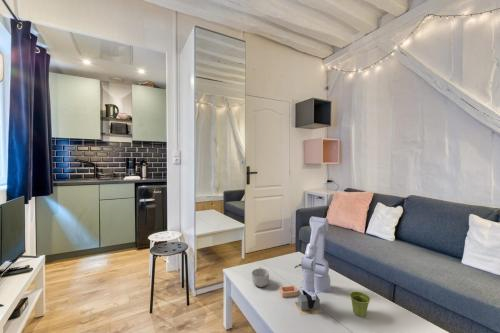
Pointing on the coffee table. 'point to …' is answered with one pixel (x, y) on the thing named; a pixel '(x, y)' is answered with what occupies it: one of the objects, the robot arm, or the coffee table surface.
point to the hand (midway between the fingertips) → (308, 304)
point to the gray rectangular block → (304, 303)
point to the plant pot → (359, 303)
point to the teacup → (260, 277)
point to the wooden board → (309, 310)
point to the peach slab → (288, 291)
